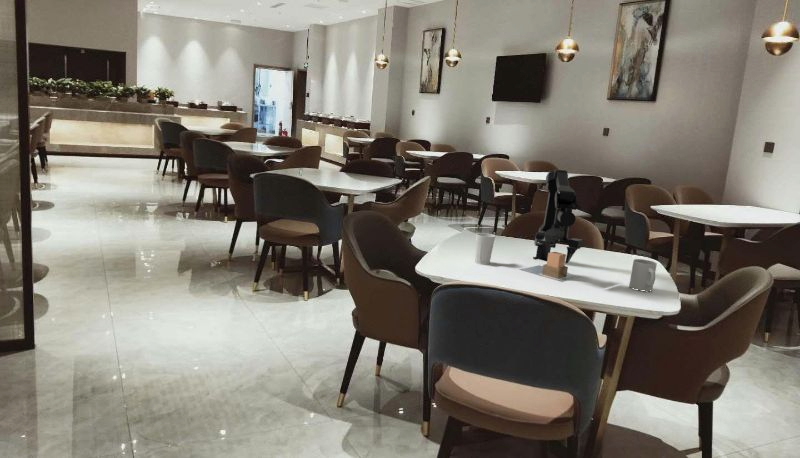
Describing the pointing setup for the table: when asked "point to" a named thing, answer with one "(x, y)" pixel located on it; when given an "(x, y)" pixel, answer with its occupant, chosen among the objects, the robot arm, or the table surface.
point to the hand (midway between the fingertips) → (556, 260)
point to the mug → (643, 274)
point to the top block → (556, 259)
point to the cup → (484, 248)
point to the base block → (554, 271)
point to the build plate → (538, 271)
